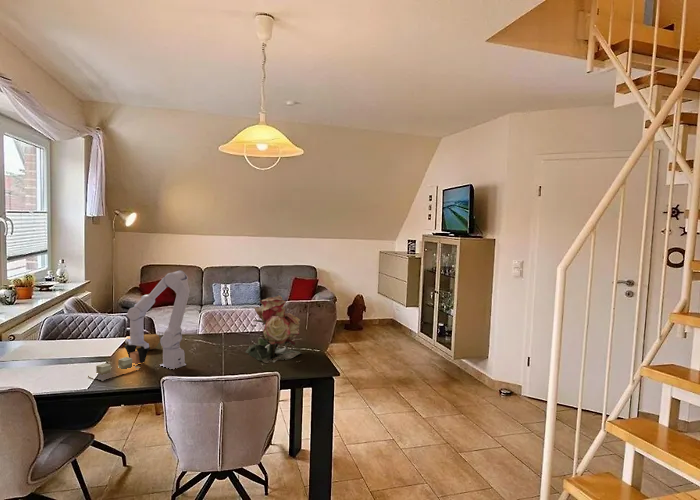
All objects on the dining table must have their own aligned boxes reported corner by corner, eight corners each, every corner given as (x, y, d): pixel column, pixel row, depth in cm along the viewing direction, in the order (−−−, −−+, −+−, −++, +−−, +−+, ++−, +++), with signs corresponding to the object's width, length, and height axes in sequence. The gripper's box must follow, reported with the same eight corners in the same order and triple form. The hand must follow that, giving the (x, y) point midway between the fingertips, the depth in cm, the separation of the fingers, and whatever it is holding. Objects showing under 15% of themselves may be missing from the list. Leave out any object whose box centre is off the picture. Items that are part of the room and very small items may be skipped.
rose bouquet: (268, 366, 210) (269, 303, 208) (240, 351, 232) (240, 294, 230) (313, 356, 226) (314, 298, 224) (282, 343, 249) (283, 289, 246)
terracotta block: (144, 363, 210) (144, 352, 209) (135, 366, 206) (135, 354, 206) (138, 361, 212) (138, 350, 211) (129, 364, 208) (129, 352, 208)
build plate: (140, 369, 202) (140, 358, 201) (101, 381, 186) (101, 370, 185) (126, 365, 206) (126, 354, 206) (87, 377, 191) (87, 365, 190)
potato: (130, 348, 231) (130, 333, 231) (160, 346, 236) (160, 331, 236) (128, 354, 222) (128, 338, 222) (159, 352, 227) (159, 336, 227)
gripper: (119, 331, 208) (119, 360, 209) (139, 336, 201) (139, 366, 202) (133, 328, 214) (133, 356, 215) (152, 333, 207) (153, 361, 208)
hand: (137, 360), depth 209 cm, fingers open, 7 cm apart
